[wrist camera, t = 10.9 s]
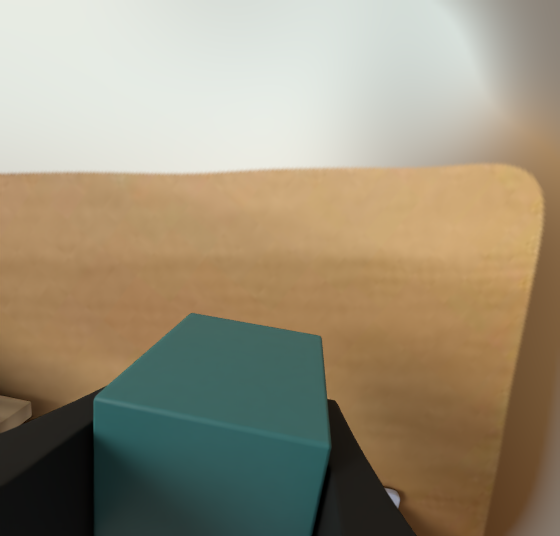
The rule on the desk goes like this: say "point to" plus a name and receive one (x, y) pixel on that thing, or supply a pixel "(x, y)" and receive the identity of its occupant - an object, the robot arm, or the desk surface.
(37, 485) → the robot arm
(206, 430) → the block
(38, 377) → the desk surface
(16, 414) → the drawer
